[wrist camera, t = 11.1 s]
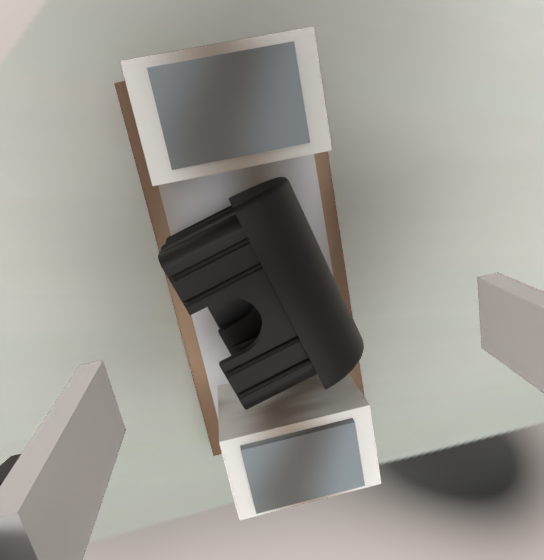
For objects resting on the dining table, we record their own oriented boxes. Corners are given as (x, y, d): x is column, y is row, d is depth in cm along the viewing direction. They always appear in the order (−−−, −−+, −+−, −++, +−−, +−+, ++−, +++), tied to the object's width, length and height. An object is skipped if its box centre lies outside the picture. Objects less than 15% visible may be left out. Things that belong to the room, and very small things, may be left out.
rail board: (306, 53, 26) (349, 3, 18) (360, 406, 33) (411, 489, 25) (119, 87, 26) (75, 51, 17) (213, 442, 32) (214, 541, 24)
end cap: (343, 318, 28) (382, 363, 22) (244, 368, 28) (253, 429, 22) (275, 172, 26) (296, 176, 19) (165, 229, 26) (148, 251, 19)
